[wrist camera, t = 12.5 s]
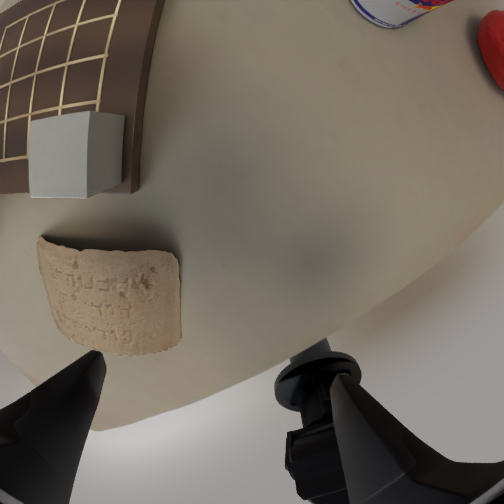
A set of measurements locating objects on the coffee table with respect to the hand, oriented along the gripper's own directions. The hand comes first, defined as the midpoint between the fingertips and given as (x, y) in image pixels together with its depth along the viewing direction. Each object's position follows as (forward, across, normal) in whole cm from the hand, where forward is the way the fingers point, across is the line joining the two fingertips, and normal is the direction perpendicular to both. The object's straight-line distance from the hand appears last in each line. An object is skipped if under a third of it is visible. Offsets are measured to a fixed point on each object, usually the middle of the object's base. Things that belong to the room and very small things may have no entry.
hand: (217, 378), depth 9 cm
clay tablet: (+12, +11, +5) cm, 17 cm away
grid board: (+12, +17, -14) cm, 25 cm away
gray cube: (+10, +10, -7) cm, 16 cm away
